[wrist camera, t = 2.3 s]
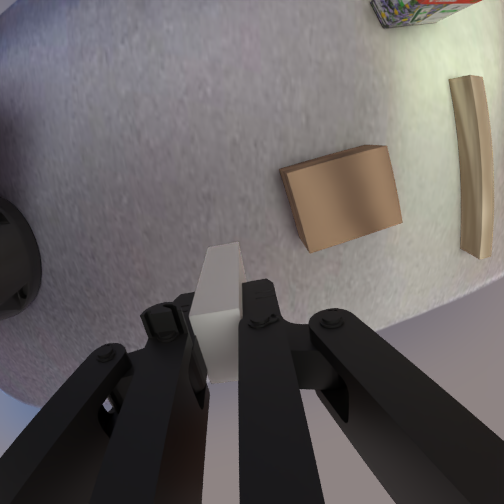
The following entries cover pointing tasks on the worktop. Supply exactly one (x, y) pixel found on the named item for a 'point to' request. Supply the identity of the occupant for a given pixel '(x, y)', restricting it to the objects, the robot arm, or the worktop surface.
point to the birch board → (474, 164)
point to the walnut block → (342, 196)
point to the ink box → (416, 11)
